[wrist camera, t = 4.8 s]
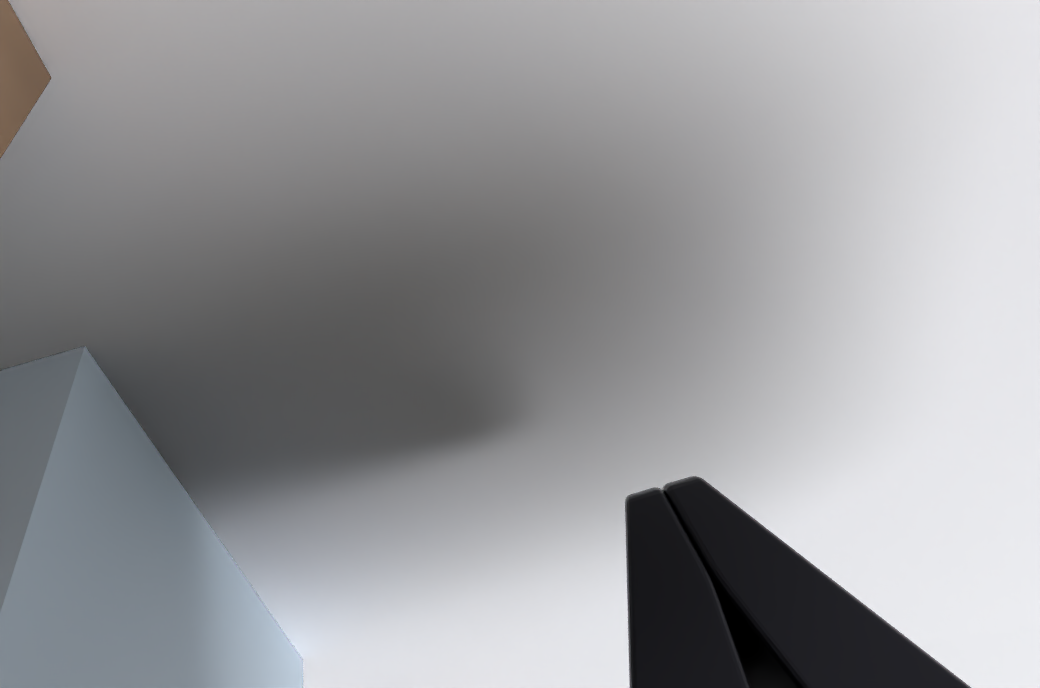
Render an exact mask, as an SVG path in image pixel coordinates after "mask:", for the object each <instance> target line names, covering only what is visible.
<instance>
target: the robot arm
mask: <svg viewBox="0 0 1040 688" xmlns="http://www.w3.org/2000/svg"><path fill="white" fill-rule="evenodd" d="M625 518H626V558H627V599H628V639H629V680H630V688H971V687H970V686H968V685H967V684H966V683H965V682H963V681H962V680H961V679H959V678H958V677H957V676H956V675H954V674H953V673H952V672H950V671H949V670H948V669H947V668H945V667H944V666H943V665H941V664H940V663H939V662H938V661H936V660H935V659H934V658H932V657H931V656H930V655H929V654H927V653H926V652H925V651H923V650H922V649H921V648H920V647H918V646H917V645H916V644H914V643H913V642H912V641H911V640H909V639H908V638H907V637H905V636H904V635H903V634H902V633H900V632H899V631H898V630H896V629H895V628H894V627H893V626H891V625H890V624H889V623H887V622H886V621H885V620H884V619H882V618H881V617H880V616H878V615H877V614H876V613H875V612H873V611H872V610H871V609H869V608H868V607H867V606H866V605H864V604H863V603H862V602H860V601H859V600H858V599H857V598H855V597H854V596H853V595H851V594H850V593H849V592H848V591H846V590H845V589H844V588H842V587H841V586H840V585H839V584H837V583H836V582H835V581H833V580H832V579H831V578H829V577H828V576H827V575H826V574H824V573H823V572H822V571H820V570H819V569H818V568H817V567H815V566H814V565H813V564H811V563H810V562H809V561H808V560H806V559H805V558H804V557H802V556H801V555H800V554H799V553H797V552H796V551H795V550H793V549H792V548H791V547H790V546H788V545H787V544H786V543H784V542H783V541H782V540H781V539H779V538H778V537H777V536H775V535H774V534H773V533H772V532H770V531H769V530H768V529H766V528H765V527H764V526H763V525H761V524H760V523H759V522H757V521H756V520H755V519H754V518H752V517H751V516H750V515H748V514H747V513H746V512H745V511H743V510H742V509H741V508H739V507H738V506H737V505H736V504H734V503H733V502H732V501H730V500H729V499H728V498H727V497H725V496H724V495H723V494H721V493H720V492H719V491H718V490H716V489H715V488H714V487H712V486H711V485H710V484H709V483H707V482H706V481H705V480H703V479H702V478H700V477H696V476H692V477H688V478H685V479H681V480H678V481H674V482H671V483H668V484H666V485H665V486H664V487H663V490H661V489H660V488H651V489H648V490H644V491H641V492H638V493H634V494H631V495H629V496H628V497H627V498H626V501H625Z"/></svg>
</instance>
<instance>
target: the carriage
mask: <svg viewBox="0 0 1040 688" xmlns="http://www.w3.org/2000/svg"><path fill="white" fill-rule="evenodd" d="M0 688H303V659H302V657H301V656H300V654H299V653H298V652H297V650H296V649H295V647H294V646H293V644H292V643H291V641H290V640H289V639H288V637H287V636H286V634H285V633H284V631H283V630H282V629H281V627H280V626H279V624H278V623H277V621H276V620H275V618H274V617H273V616H272V614H271V613H270V611H269V610H268V608H267V607H266V606H265V604H264V603H263V601H262V600H261V598H260V597H259V595H258V594H257V593H256V591H255V590H254V588H253V587H252V585H251V584H250V583H249V581H248V580H247V578H246V577H245V575H244V574H243V572H242V571H241V570H240V568H239V567H238V565H237V564H236V562H235V561H234V560H233V558H232V557H231V555H230V554H229V552H228V551H227V549H226V548H225V547H224V545H223V544H222V542H221V541H220V539H219V538H218V537H217V535H216V534H215V532H214V531H213V529H212V528H211V526H210V525H209V524H208V522H207V521H206V519H205V518H204V516H203V515H202V514H201V512H200V511H199V509H198V508H197V506H196V505H195V503H194V502H193V501H192V499H191V498H190V496H189V495H188V493H187V492H186V491H185V489H184V488H183V486H182V485H181V483H180V482H179V480H178V479H177V478H176V476H175V475H174V473H173V472H172V470H171V469H170V468H169V466H168V465H167V463H166V462H165V460H164V459H163V457H162V456H161V455H160V453H159V452H158V450H157V449H156V447H155V446H154V445H153V443H152V442H151V440H150V439H149V437H148V436H147V434H146V433H145V432H144V430H143V429H142V427H141V426H140V424H139V423H138V421H137V420H136V419H135V417H134V416H133V414H132V413H131V411H130V410H129V409H128V407H127V406H126V404H125V403H124V401H123V400H122V398H121V397H120V396H119V394H118V393H117V391H116V390H115V388H114V387H113V386H112V384H111V383H110V381H109V380H108V378H107V377H106V375H105V374H104V373H103V371H102V370H101V368H100V367H99V365H98V364H97V363H96V361H95V360H94V358H93V357H92V355H91V354H90V352H89V351H88V350H87V348H86V347H85V346H83V347H79V348H76V349H72V350H69V351H65V352H62V353H58V354H55V355H51V356H48V357H45V358H41V359H38V360H34V361H31V362H27V363H24V364H20V365H17V366H13V367H10V368H6V369H3V370H0Z"/></svg>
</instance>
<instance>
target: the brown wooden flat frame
mask: <svg viewBox="0 0 1040 688" xmlns="http://www.w3.org/2000/svg"><path fill="white" fill-rule="evenodd" d="M50 80H51V76H50V74H49V73H48V71H47V69H46V67H45V66H44V64H43V62H42V60H41V58H40V57H39V55H38V53H37V51H36V49H35V48H34V46H33V44H32V42H31V41H30V39H29V37H28V35H27V33H26V32H25V30H24V28H23V26H22V25H21V23H20V21H19V19H18V17H17V16H16V14H15V12H14V10H13V8H12V7H11V5H10V3H9V1H8V0H0V158H1V157H2V155H3V154H4V152H5V150H6V149H7V147H8V146H9V144H10V143H11V141H12V139H13V138H14V136H15V135H16V133H17V132H18V130H19V128H20V127H21V125H22V124H23V122H24V121H25V119H26V117H27V116H28V114H29V113H30V111H31V109H32V108H33V106H34V105H35V103H36V102H37V100H38V98H39V97H40V95H41V94H42V92H43V91H44V89H45V87H46V86H47V84H48V83H49V81H50Z"/></svg>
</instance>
